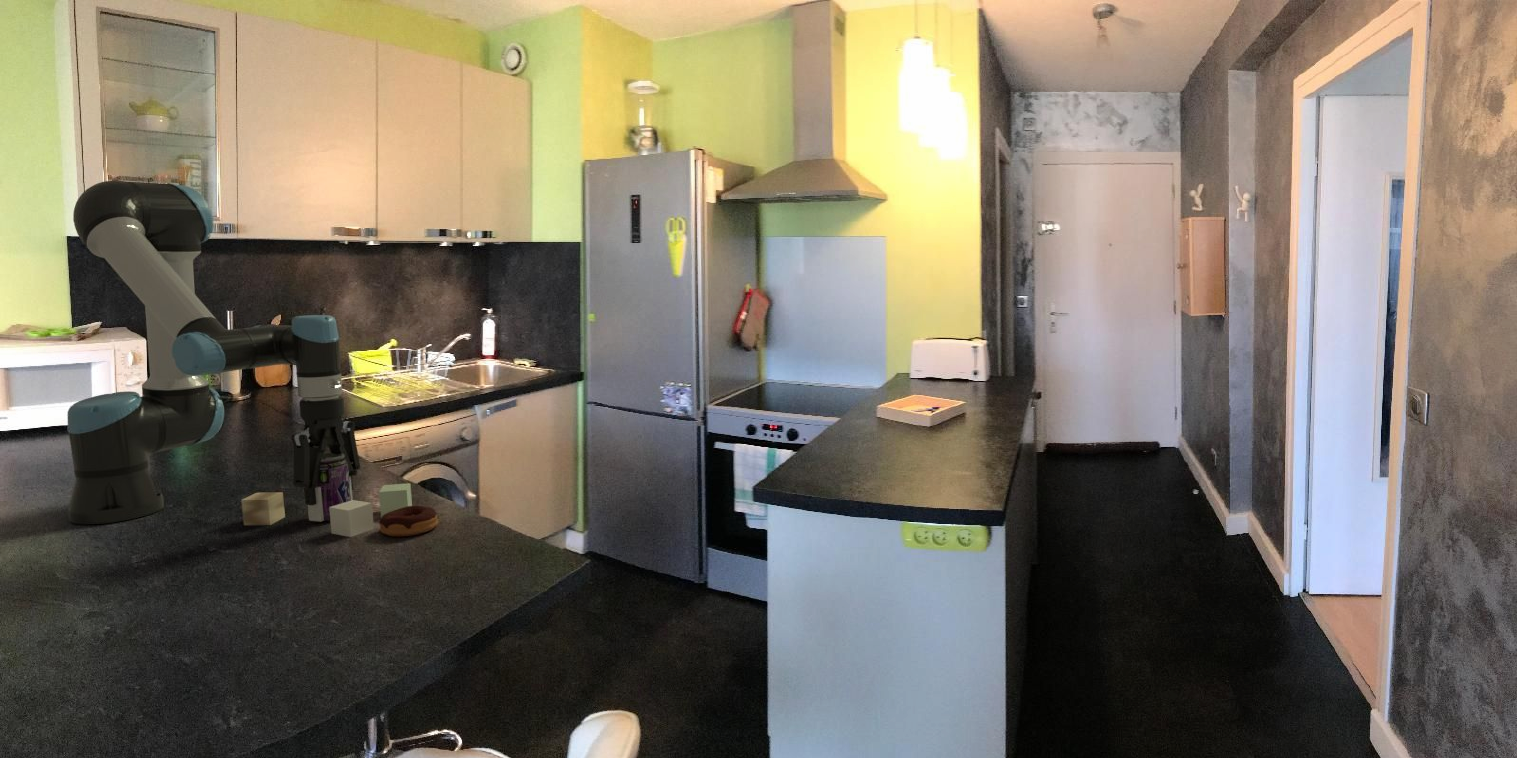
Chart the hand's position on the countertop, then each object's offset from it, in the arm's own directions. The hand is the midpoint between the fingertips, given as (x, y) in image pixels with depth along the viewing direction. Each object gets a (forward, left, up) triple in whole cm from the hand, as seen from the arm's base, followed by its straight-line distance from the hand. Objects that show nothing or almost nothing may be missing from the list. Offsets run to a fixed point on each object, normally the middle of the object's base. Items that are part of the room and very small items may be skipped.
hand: (331, 514), depth 166 cm
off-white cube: (+10, -6, -1) cm, 12 cm away
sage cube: (+10, +6, -1) cm, 12 cm away
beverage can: (0, 0, -1) cm, 1 cm away
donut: (+20, -3, -1) cm, 20 cm away
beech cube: (-11, -5, -1) cm, 12 cm away
